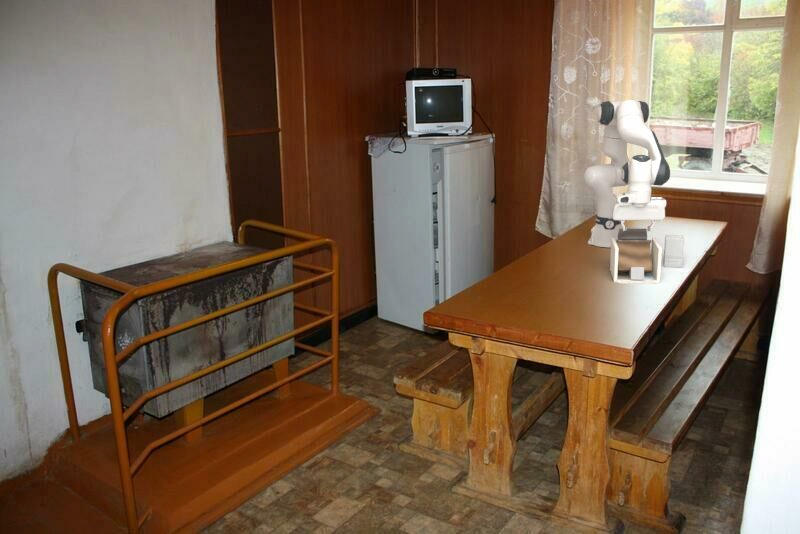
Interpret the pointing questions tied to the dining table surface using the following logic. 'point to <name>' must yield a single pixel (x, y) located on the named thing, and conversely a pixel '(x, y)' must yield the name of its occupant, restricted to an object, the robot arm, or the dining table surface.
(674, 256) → the supplement box
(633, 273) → the light grey cube
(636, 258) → the trapdoor
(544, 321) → the dining table surface
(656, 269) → the frame
